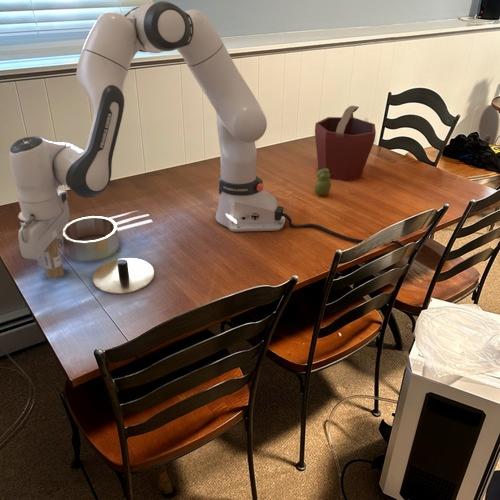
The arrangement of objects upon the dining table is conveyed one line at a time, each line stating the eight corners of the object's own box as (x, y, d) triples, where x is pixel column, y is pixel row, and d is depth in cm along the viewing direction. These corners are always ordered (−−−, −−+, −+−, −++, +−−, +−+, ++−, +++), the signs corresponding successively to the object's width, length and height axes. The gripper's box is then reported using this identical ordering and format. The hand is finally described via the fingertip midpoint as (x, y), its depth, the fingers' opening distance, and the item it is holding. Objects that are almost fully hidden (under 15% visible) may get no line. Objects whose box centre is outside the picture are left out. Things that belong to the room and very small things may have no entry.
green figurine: (321, 199, 170) (325, 173, 165) (310, 194, 174) (313, 168, 168) (332, 195, 174) (335, 169, 168) (321, 190, 177) (324, 164, 172)
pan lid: (160, 263, 134) (159, 247, 131) (145, 298, 120) (144, 281, 118) (104, 259, 134) (102, 243, 132) (84, 293, 121) (81, 277, 118)
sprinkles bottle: (66, 276, 127) (57, 231, 120) (48, 281, 125) (38, 236, 118) (61, 268, 130) (52, 224, 123) (44, 273, 128) (33, 228, 121)
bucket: (331, 156, 206) (339, 96, 192) (380, 169, 195) (392, 107, 182) (301, 174, 189) (307, 110, 175) (353, 190, 178) (364, 122, 165)
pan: (125, 237, 145) (123, 218, 141) (109, 264, 132) (107, 244, 129) (77, 233, 146) (74, 214, 142) (57, 260, 133) (53, 240, 130)
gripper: (33, 228, 108) (45, 278, 115) (69, 188, 125) (78, 235, 132) (6, 226, 108) (19, 277, 115) (45, 187, 125) (55, 233, 133)
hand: (51, 254), depth 124 cm, fingers open, 8 cm apart
